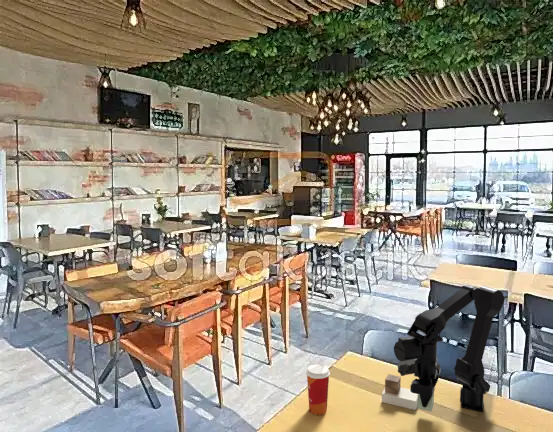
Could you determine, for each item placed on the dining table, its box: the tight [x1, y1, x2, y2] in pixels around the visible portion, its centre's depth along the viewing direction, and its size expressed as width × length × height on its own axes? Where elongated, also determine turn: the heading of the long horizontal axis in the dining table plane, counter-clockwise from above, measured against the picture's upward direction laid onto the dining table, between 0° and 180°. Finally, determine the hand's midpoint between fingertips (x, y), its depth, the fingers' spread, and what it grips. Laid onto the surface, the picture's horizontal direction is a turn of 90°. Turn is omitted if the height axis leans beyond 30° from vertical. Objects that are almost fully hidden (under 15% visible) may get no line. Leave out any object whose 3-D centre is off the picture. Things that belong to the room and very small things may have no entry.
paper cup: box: [305, 364, 331, 416], centre depth 139 cm, size 8×8×14 cm
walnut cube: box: [384, 374, 402, 395], centre depth 146 cm, size 4×4×4 cm
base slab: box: [381, 386, 418, 411], centre depth 145 cm, size 11×7×3 cm, turn 62°
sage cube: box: [416, 392, 435, 413], centre depth 135 cm, size 4×4×4 cm
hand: (425, 403), depth 135 cm, fingers closed on sage cube, 4 cm apart
